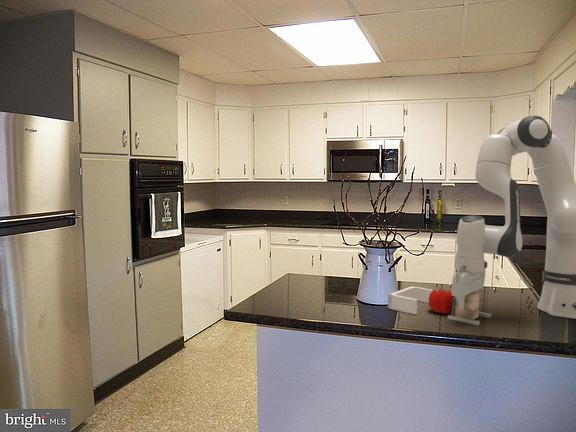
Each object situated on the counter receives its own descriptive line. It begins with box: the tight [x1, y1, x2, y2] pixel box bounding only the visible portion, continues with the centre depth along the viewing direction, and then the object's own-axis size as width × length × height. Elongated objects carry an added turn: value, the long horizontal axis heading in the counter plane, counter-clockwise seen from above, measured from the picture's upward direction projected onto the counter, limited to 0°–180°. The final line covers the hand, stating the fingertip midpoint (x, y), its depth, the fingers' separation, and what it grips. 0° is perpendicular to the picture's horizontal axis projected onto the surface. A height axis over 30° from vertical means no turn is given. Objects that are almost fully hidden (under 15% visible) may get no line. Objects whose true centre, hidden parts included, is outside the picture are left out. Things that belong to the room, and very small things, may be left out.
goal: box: [387, 286, 434, 315], centre depth 173 cm, size 10×18×5 cm, turn 139°
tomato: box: [428, 288, 456, 315], centre depth 166 cm, size 9×9×8 cm
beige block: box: [450, 292, 480, 320], centre depth 160 cm, size 7×7×8 cm
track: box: [447, 311, 492, 326], centre depth 160 cm, size 10×12×1 cm
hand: (467, 305), depth 160 cm, fingers open, 8 cm apart
